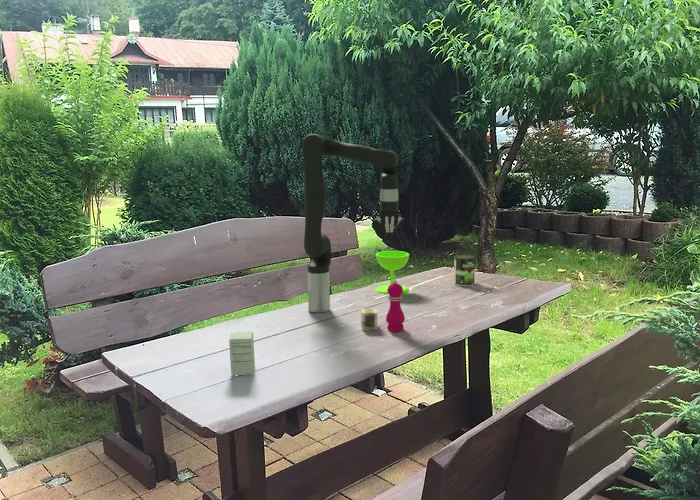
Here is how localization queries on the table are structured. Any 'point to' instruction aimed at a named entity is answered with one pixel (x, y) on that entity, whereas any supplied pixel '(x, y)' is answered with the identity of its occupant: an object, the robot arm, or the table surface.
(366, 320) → the pale yellow cube-like block
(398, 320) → the pepper mill
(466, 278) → the coffee can
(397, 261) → the wineglass
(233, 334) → the supplement box
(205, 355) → the table surface
